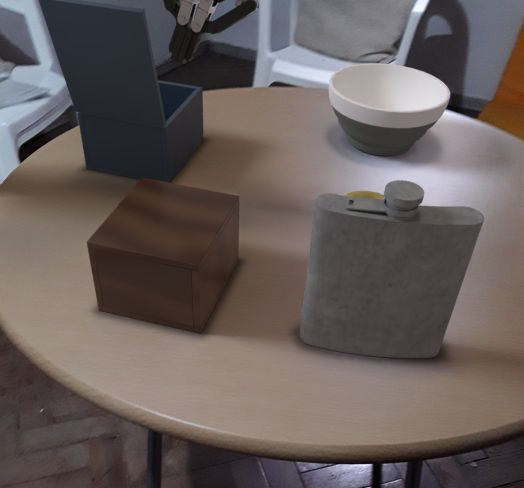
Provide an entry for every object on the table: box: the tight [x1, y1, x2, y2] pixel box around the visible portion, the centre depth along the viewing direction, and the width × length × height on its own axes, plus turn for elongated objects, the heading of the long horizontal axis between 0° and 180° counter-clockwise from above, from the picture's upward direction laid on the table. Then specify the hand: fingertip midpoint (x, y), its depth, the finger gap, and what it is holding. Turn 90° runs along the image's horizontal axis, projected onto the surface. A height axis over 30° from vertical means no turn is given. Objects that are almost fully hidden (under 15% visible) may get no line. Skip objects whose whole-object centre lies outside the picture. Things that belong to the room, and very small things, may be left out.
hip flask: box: [298, 179, 485, 359], centre depth 64 cm, size 16×4×20 cm, turn 84°
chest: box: [76, 79, 204, 183], centre depth 98 cm, size 16×14×9 cm
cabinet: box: [86, 178, 241, 334], centre depth 74 cm, size 15×13×10 cm
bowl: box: [328, 62, 451, 156], centre depth 105 cm, size 20×20×10 cm
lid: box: [38, 0, 166, 127], centre depth 82 cm, size 16×14×1 cm
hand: (178, 60), depth 73 cm, fingers closed
